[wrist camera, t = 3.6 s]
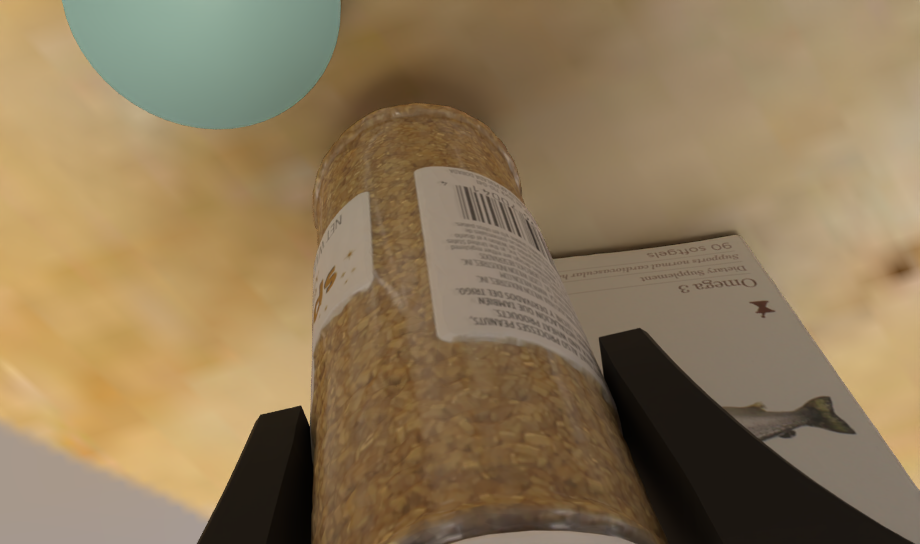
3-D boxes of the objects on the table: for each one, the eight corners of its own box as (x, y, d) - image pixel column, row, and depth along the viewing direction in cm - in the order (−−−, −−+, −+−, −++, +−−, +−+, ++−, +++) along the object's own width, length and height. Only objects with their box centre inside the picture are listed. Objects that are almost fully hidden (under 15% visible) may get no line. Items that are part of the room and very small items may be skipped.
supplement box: (744, 224, 24) (1047, 632, 14) (715, 417, 28) (931, 839, 18) (482, 254, 24) (593, 698, 13) (491, 445, 28) (582, 896, 18)
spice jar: (269, 168, 18) (156, 873, 7) (457, 54, 17) (681, 634, 6) (387, 317, 21) (449, 1033, 9) (557, 222, 20) (858, 874, 8)
